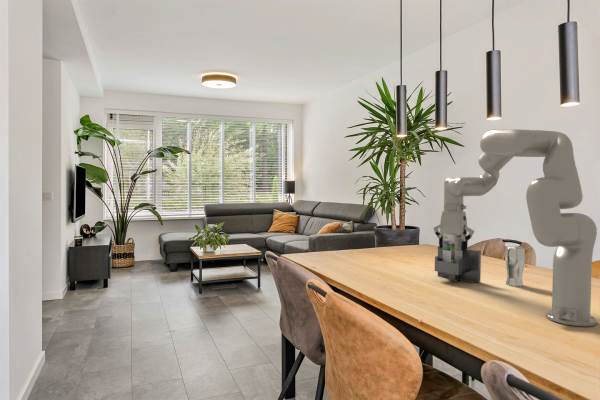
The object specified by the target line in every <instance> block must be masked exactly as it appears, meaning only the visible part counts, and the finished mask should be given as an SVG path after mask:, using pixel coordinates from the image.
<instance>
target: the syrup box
mask: <svg viewBox="0 0 600 400" xmlns="http://www.w3.org/2000/svg"><path fill="white" fill-rule="evenodd" d="M462 241H463V240H462V238H461V237H460V236H456V235H455V234H443V261H445V262H452V263H456V259H460V258H462V250H461V244H462Z"/></svg>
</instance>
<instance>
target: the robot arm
mask: <svg viewBox="0 0 600 400" xmlns="http://www.w3.org/2000/svg"><path fill="white" fill-rule="evenodd" d="M479 146H480V150H481V151H482V154H481V155H480V156H479V157H478V164H479V167H480V168H481V169H482V170H483V171H484V172H483V173H482V174H481V175H479V176H478V177H476V176H475V177H474V176H473V177H471V176H469V177H466V176H462V177H450V178H448V177H447V178H446V179H445V180H444V183H443V184H444V185H443V186H444V187H443V211H442V212H441V216H440V222H439V223H440V224H438V225H436V226H434V227H433V228H432V229H433V231H434V233H435V235H436V237H437V238H438V246H440V248H443V234H455V235H456V236H460V237H461V238H462V240H463V241H462V244H461V250H462V251H466V250H467V249H468V242H469V240H470V239H472V237H473V235H474V233H475V230H474V229H472V228H471V227H469V226H468V220H467V213H466V211H464V209H465V210H466V209H467V205H464V197H481V196H485V195H486V194H487V193H489V192H490V191H491V190H492V189H493V188H494V187H495V186H496V185H497V183H498V181H499V179H500V178H499V177H500V170H501V169H503V168H504V167H505V166H506V165H507V164H508V163H509V162H510V161H511V160H512V159H513V158H514V157H515V158H516V157H517V158H519V157H520V158H523V157H525V158H543V163H542V171H543V172H542V173H543V176H544V177H543V176H541V177H537V178H536V179H533V180H532V181H531V182H530V184H529V185H528V187H527V189H526V193H525V194H526V195H525V196H526V197H525V198H526V199H525V200H526V205H527V210H528V214H529V219H530V224H531V228H532V232H533V236H534V237H535V239H536V241H537V243H539V244H541V245H542V246H545V247H549V248H551V247H552V248H553V247H555V251H554V255H553V260H552V286H551V287H552V291H551V292H552V293H551V297H552V298H551V309H549V310H547V311H545V317H546V318H547V319H548V320H550V321H551V322H554V323H555V322H556V323H558V324H563V325H567V326H575V327H593V326H596V325H597V323H598V321H597V318H596V317H594V316H593V315H591V304H592V302H591V300H592V274H593V273H592V270H593V253H594V248H595V243H596V240H597V234H598V229H597V225H596V223H595V220H593V219H592V218H591V217H590V216H588V215H586V214H583V213H581V212H580V213H579V212H561V210H568V209H573V208H577V207H579V205H580V204H581V203H582V201H583V199H584V198H583V197H584V195H583V189H582V185H581V181H580V177H579V172H578V168H577V166H576V161H575V156H574V147H573V146H574V145H573V143H572V140H571V139H570V137H569V136H568V135H567V134H565V133H563V132H560V131H555V130H554V131H553V130H541V129H518V128H517V129H491V130H488V131H487V132H485V133H484V134H483V135H482V136H481V139H480V143H479Z"/></svg>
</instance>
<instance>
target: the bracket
mask: <svg viewBox="0 0 600 400" xmlns="http://www.w3.org/2000/svg"><path fill="white" fill-rule="evenodd" d="M481 254H482V251H481V250H478V249H469V248H467V250H466V251H462V258H460V259H456V263H452V262H445V261H443V248H440V246H439V245H438V246H437V255H436V256H434V272H437V277H443V278H449V281H451V282H457V281H464V282H465V281H466V282H470V283H475V284H478V283H481V270H482V266H481V265H482V255H481Z"/></svg>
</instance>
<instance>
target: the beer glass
mask: <svg viewBox="0 0 600 400" xmlns="http://www.w3.org/2000/svg"><path fill="white" fill-rule="evenodd" d="M525 254H526V251H525V247H523V246H518V245H517V246H516V245H515V246H512V245H511V246H509V245H507V246H506V247H505V255H504V256H505V257H504V258H505V259H504V261H505V269H506V274H507V275H506V281H505V284H506V285H507V286H510V287H515V288H516V287H517V288H518V287H523V286H524V282H523V272H524V269H525V264H526V255H525Z"/></svg>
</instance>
